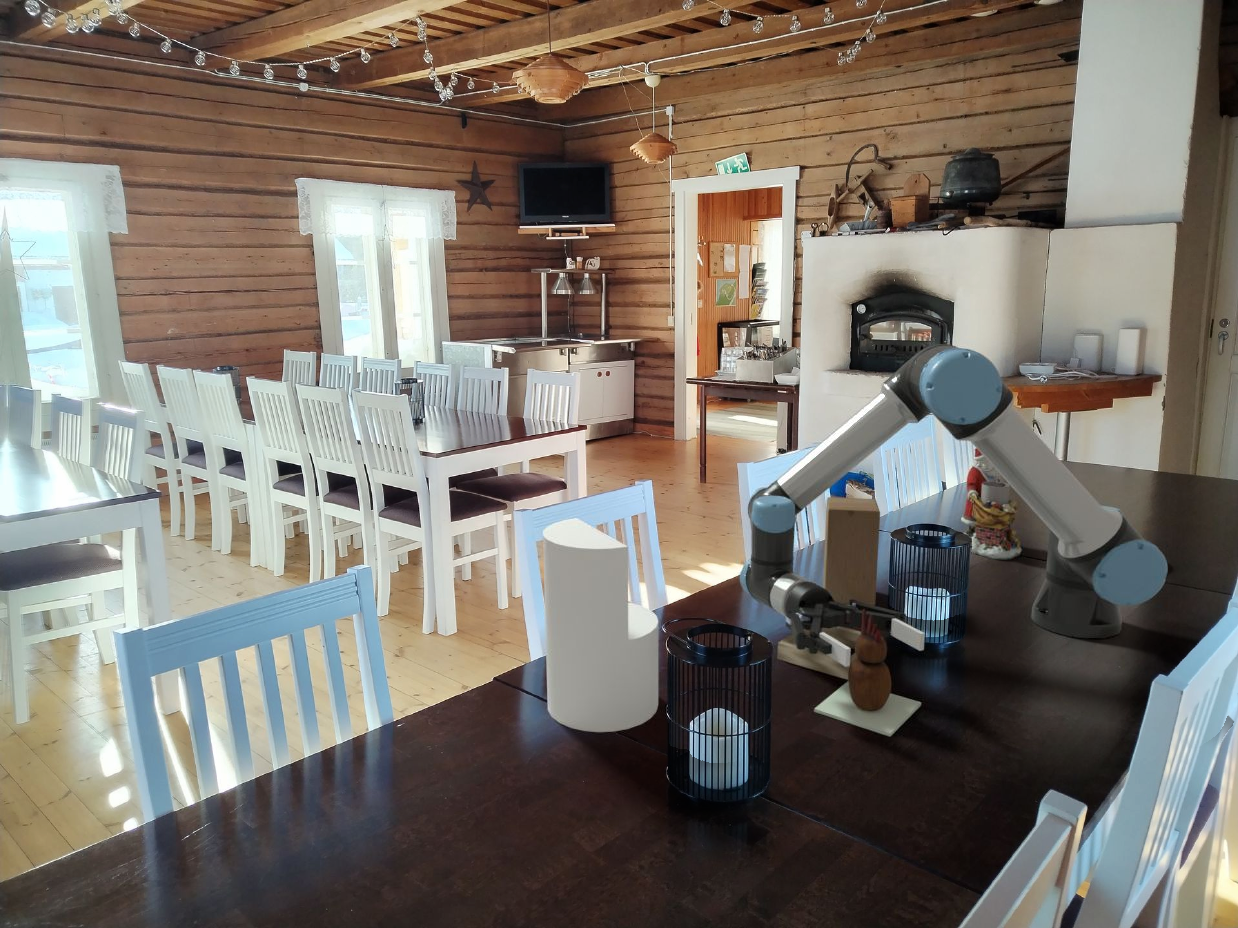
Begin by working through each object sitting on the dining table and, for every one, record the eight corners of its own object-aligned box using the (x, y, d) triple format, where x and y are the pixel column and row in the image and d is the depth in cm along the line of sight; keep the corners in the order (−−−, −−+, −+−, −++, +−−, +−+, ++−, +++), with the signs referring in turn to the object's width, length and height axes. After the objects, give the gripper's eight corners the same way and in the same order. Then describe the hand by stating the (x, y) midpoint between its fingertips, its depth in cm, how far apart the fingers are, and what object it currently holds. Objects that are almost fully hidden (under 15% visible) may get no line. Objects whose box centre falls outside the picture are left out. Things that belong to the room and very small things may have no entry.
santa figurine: (1025, 562, 202) (1033, 456, 197) (959, 557, 206) (966, 453, 202) (1017, 543, 218) (1025, 444, 213) (957, 538, 222) (963, 441, 217)
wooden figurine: (842, 695, 138) (846, 605, 135) (877, 694, 138) (882, 604, 135) (857, 716, 131) (862, 622, 128) (894, 714, 131) (900, 620, 128)
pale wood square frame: (882, 653, 154) (883, 637, 154) (849, 680, 144) (850, 663, 143) (812, 634, 162) (813, 619, 162) (777, 658, 152) (777, 642, 152)
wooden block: (875, 607, 176) (880, 510, 171) (823, 604, 178) (828, 508, 173) (871, 590, 185) (876, 498, 181) (822, 587, 187) (826, 496, 183)
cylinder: (575, 742, 125) (571, 555, 120) (530, 693, 140) (525, 525, 135) (679, 714, 133) (680, 537, 127) (625, 670, 148) (624, 510, 142)
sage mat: (920, 705, 135) (921, 702, 135) (890, 736, 126) (890, 733, 126) (848, 683, 143) (848, 680, 143) (814, 711, 134) (814, 708, 134)
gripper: (861, 611, 154) (949, 658, 135) (738, 634, 145) (814, 688, 125) (863, 571, 152) (953, 612, 133) (739, 591, 143) (816, 639, 124)
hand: (886, 649), depth 129 cm, fingers open, 13 cm apart
